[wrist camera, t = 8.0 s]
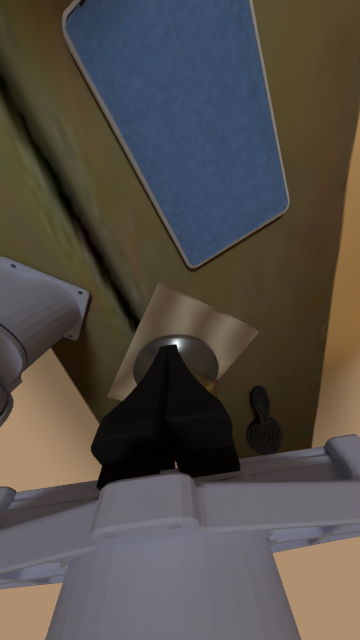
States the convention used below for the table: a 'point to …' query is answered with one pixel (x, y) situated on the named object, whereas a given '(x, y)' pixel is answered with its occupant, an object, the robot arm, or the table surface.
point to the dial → (191, 351)
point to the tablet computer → (187, 111)
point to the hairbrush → (263, 425)
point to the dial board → (183, 332)
